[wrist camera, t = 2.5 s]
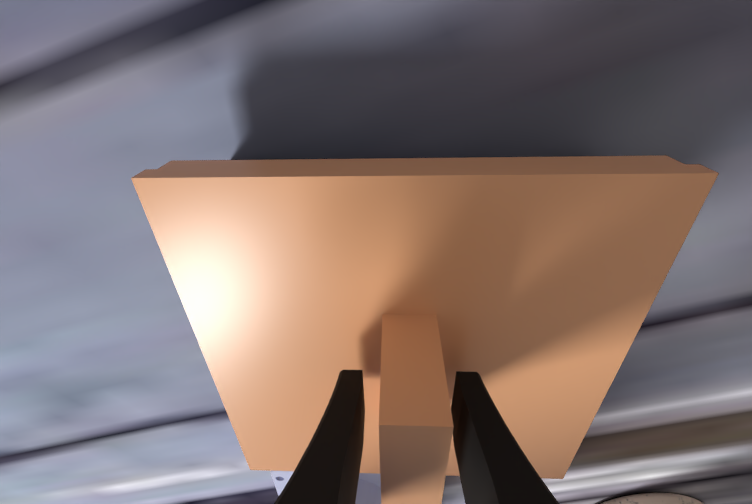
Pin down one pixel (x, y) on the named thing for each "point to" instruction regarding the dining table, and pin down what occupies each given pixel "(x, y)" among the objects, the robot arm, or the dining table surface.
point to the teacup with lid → (654, 499)
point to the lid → (418, 293)
